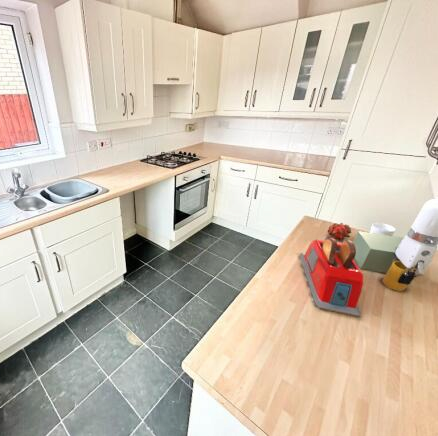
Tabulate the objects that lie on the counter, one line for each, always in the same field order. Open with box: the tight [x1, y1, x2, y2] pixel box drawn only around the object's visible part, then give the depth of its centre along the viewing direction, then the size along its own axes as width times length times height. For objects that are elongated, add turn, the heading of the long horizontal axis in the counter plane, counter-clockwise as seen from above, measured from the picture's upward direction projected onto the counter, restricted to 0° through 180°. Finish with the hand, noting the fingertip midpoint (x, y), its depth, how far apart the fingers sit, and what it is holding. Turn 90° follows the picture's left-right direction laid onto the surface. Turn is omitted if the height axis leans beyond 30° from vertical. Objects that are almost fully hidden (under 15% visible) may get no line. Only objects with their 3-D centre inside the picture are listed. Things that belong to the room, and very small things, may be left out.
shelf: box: [352, 230, 405, 274], centre depth 100 cm, size 16×14×10 cm
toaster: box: [299, 237, 364, 318], centre depth 89 cm, size 32×13×19 cm, turn 161°
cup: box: [381, 261, 415, 292], centre depth 89 cm, size 6×6×9 cm
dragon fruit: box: [327, 222, 352, 241], centre depth 118 cm, size 8×8×12 cm
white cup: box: [368, 222, 397, 236], centre depth 111 cm, size 8×8×10 cm
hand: (398, 276), depth 89 cm, fingers closed on cup, 6 cm apart
